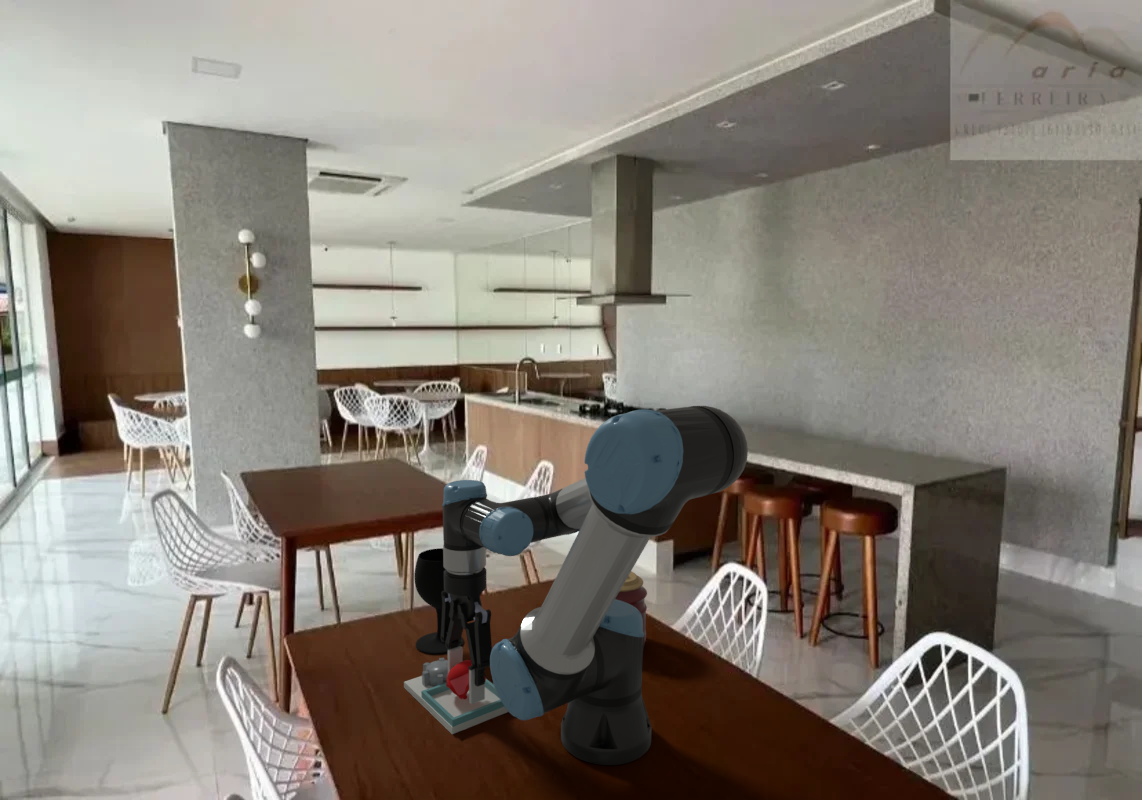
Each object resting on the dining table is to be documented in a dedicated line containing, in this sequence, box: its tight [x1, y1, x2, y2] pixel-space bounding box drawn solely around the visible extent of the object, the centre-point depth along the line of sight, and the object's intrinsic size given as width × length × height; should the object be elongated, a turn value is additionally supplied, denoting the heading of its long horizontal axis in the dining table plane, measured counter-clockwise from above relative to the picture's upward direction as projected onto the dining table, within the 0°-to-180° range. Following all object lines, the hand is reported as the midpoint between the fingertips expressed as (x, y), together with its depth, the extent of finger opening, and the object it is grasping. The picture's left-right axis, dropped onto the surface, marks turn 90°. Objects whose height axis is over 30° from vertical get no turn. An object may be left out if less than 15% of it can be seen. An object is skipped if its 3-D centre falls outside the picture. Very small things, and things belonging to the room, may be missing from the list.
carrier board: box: [403, 657, 509, 735], centre depth 124 cm, size 19×12×4 cm, turn 38°
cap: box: [446, 659, 487, 699], centre depth 122 cm, size 8×6×6 cm
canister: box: [615, 571, 648, 648], centre depth 147 cm, size 13×13×18 cm
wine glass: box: [413, 547, 465, 656], centre depth 146 cm, size 10×10×20 cm
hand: (465, 691), depth 122 cm, fingers closed on cap, 7 cm apart
